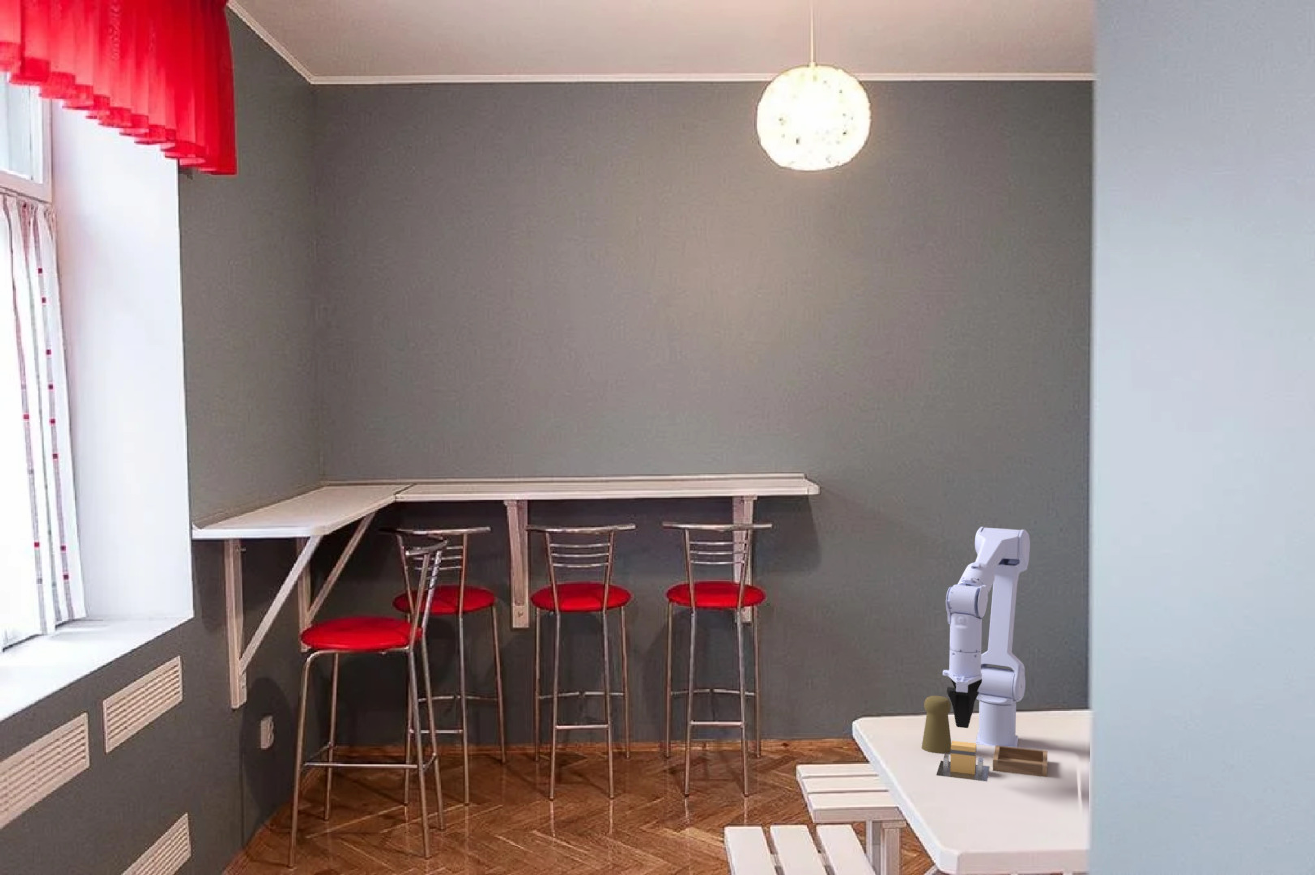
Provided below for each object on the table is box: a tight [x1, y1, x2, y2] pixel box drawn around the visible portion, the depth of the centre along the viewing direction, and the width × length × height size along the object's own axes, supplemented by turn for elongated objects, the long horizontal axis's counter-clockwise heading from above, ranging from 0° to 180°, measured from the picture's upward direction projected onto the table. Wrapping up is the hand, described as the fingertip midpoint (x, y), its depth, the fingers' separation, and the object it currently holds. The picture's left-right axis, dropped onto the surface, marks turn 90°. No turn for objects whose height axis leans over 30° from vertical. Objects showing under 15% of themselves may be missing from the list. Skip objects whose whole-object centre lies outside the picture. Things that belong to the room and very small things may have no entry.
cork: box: [921, 695, 952, 754], centre depth 220 cm, size 6×6×11 cm
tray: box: [992, 745, 1048, 778], centre depth 210 cm, size 10×10×3 cm
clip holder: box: [935, 753, 990, 782], centre depth 207 cm, size 9×9×3 cm
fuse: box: [949, 740, 978, 774], centre depth 207 cm, size 3×4×5 cm, turn 70°
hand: (964, 721), depth 207 cm, fingers open, 7 cm apart
